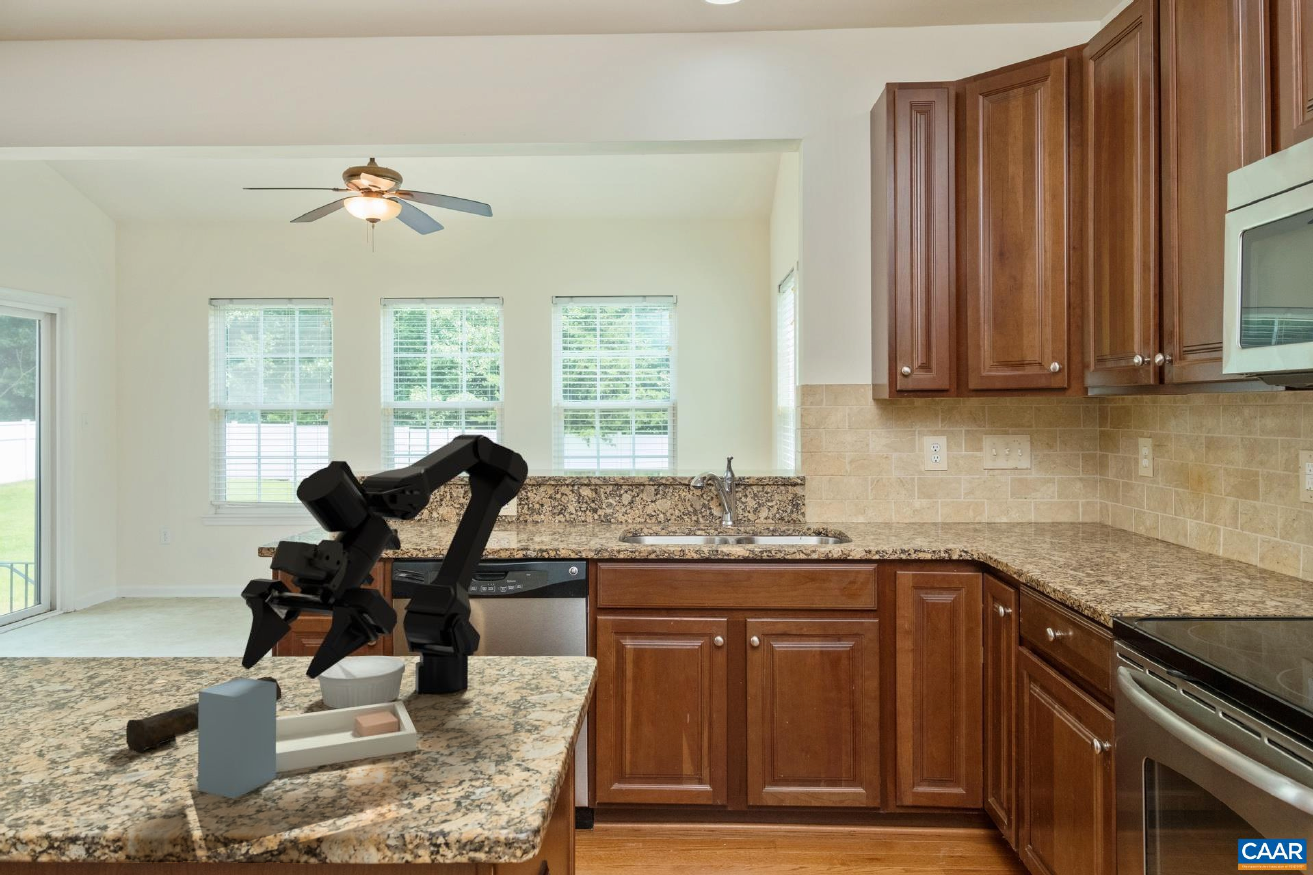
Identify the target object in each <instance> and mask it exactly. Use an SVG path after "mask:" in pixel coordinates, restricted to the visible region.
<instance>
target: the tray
mask: <svg viewBox="0 0 1313 875" xmlns="http://www.w3.org/2000/svg"><path fill="white" fill-rule="evenodd" d="M385 711H389V712H390V713H391V714H392V715H393V716H394V717H395V718H396V719H398V732H395V733H388V734H381V735H374V736H368V737H361V736H360V735H359V734H358V732H357V731H356V730H355V717H359V716H364V715H370V714H375V713H380V712H385ZM417 733H418V732H417V729H416V728H415V725H414V724H413V721H412V719H411V717H410V715H409V713H408V711H407V708H406V706H405V704H404V702H403V701H402V700H398V701H390V702H388V703H381V704H374V705H366V706H359V707H351V708H343V709H339V708H335V709H331V710H322V711H314V712H308V713H307V712H306V713H299V714H291V715H285V716H284V715H283V716H278V717H277V716H276V774H278V773H283V772H289V771H296V770H302V769H309V768H313V767H321V766H326V765H334V764H338V763H340V764H341V763H345V762H352V761H357V760H364V759H371V758H376V757H377V758H378V757H383V756H391V755H395V754H402V753H408V752H414V751H418V750H417V748H418V745H417V743H418V739H417V738H418V736H417V735H418V734H417Z"/></svg>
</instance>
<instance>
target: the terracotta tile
mask: <svg viewBox="0 0 1313 875" xmlns="http://www.w3.org/2000/svg"><path fill="white" fill-rule="evenodd" d="M355 730H356V731H357V732H358V734H359V735H360V736H361V737H368V736H374V735H381V734H388V733H395V732H398V719H396V718H395V717H394V716H393V715H392V714H391V713H390V712H389V711H385V712H380V713H375V714H370V715H364V716H359V717H355Z"/></svg>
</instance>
